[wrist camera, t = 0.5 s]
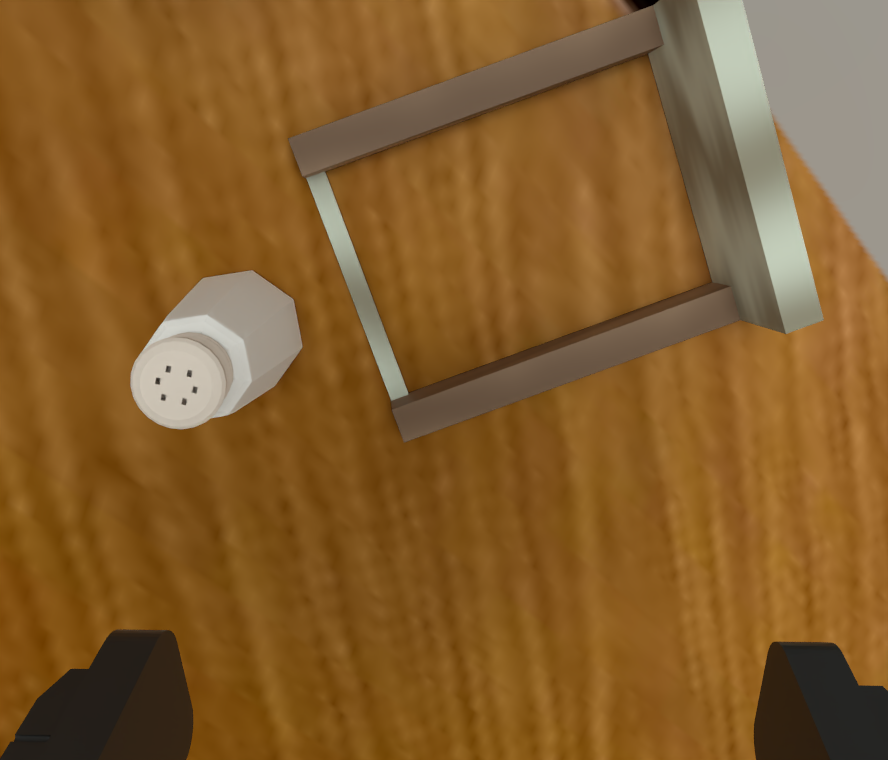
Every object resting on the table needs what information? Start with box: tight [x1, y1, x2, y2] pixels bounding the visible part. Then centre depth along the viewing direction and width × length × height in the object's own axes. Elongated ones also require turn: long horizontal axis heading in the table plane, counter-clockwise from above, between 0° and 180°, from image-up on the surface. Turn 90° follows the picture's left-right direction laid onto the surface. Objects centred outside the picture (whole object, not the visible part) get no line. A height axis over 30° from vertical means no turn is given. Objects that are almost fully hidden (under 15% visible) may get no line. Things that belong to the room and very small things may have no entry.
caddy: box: [288, 0, 824, 442], centre depth 32 cm, size 13×16×6 cm
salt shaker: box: [130, 270, 303, 429], centre depth 30 cm, size 5×5×11 cm
